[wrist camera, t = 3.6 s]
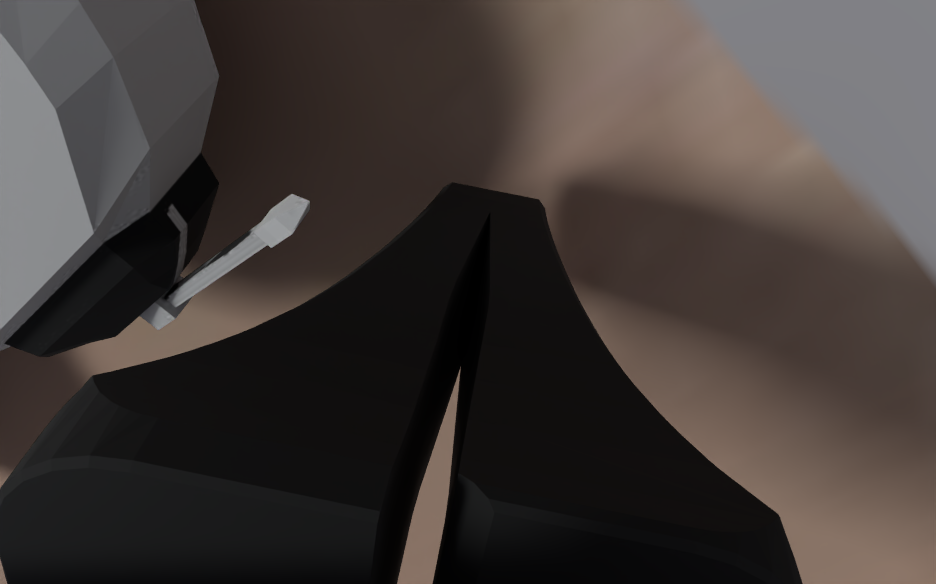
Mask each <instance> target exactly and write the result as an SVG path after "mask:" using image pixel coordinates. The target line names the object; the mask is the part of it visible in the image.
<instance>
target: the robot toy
mask: <svg viewBox="0 0 936 584" xmlns="http://www.w3.org/2000/svg"><path fill="white" fill-rule="evenodd" d="M218 79H219V74H218V71H217V68H216V65H215V62H214V58H213V55H212V52H211V49H210V46H209V43H208V40H207V37H206V34H205V31H204V28H203V25H202V22H201V19H200V16H199V13H198V10H197V7H196V4H195V1H194V0H0V351H1V350H4V349H6V348H9V347H11V346H12V347H15V348H17V349H20V350H23V351H26V352H28V353H31V354H34V355H37V356H39V357H50V356H53V355H55V354H58V353H61V352H64V351H67V350H70V349H73V348H76V347H79V346H82V345H85V344H88V343H91V342H95V341H99V340H103V339H108V338H112V337H116V336H117V335H118V334H119V333H120V332H121V331H123V330H124V329H125V328H126V327H127V326H128V325H129V324H131V323H132V322H133V321H134V320H135V319H136V318H137V317H139V316H141V317H142V318H143V319H145V320H146V321H147V322H149V323H150V324H151V325H152V326H154V327H155V328H156V329H157V330H159V329H161V328H162V327H164V326H165V325H167V324H168V323H170V322H171V321H173V320H174V319H176V317H177V316H178V315H179V314H180V312H181V311H182V310H183V308H184V307H185V306H186V305H187V303H188V302H189V301H190V299H191V298H192V297H193V296H194V295H195V294H196V293H198V292H199V291H201V290H202V289H204V288H205V287H207V286H208V285H210V284H211V283H213V282H214V281H216V280H217V279H218V278H220V277H221V276H223V275H224V274H226V273H227V272H229V271H230V270H232V269H233V268H235V267H236V266H237V265H239V264H240V263H242V262H243V261H245V260H246V259H248V258H249V257H251V256H252V255H254V254H255V253H257V252H258V251H259V250H261V249H262V248H264V247H265V246H267V245H268V246H270V247H271V248H272V247H274V246H275V245H277V244H278V243H280V242H281V241H283V240H284V239H286V238H287V237H289V236H290V235H291V234H293V233H294V231H295V230H296V228H297V227H298V226H299V224H300V223H301V221H302V220H303V219H304V217H305V216H306V215H307V213H308V212H309V210H310V201H308V200H306V199H303V198H301V197H299V196H296V195H294V194H291V195H289V196H288V197H287V198H285V199H284V200H283V201H281V202H280V203H279V204H277V205H276V206H274V207H273V208H272V209H271V210H270V211H269V212H268V214H267V215H266V216H265V217H264V219H263V220H262V221H261V222H260V223H259V224H257V225H256V226H255V227H253V228H252V229H251V230H249V231H248V232H247V233H245V234H244V235H242V236H241V237H240V238H238V239H237V240H236V241H234V242H233V243H231V244H230V245H229V246H227V247H226V248H225V249H223V250H222V251H221V252H219V253H218V254H216V255H215V256H214V257H212V258H211V259H210V260H208V261H207V262H206V263H204V264H203V265H201V266H200V267H199V268H197V269H196V270H195V271H193V272H192V273H190V274H189V275H188V276H186V277H185V278H184V279H183V278H182V277H181V276H180V274H181V273H182V271H183V270H184V269H185V267H186V266H187V264H188V263H189V262H190V260H191V259H192V258H193V256H194V255H195V254H196V252H197V251H198V249H199V246H200V243H201V240H202V237H203V234H204V231H205V228H206V225H207V221H208V218H209V215H210V211H211V208H212V205H213V202H214V198H215V195H216V192H217V188H218V185H219V182H218V180H217V179H216V177H215V175H214V174H213V172H212V170H211V169H210V167H209V165H208V164H207V162H206V160H205V159H204V157H203V155H202V154H201V149H202V145H203V141H204V137H205V133H206V129H207V124H208V120H209V116H210V112H211V108H212V104H213V100H214V95H215V91H216V87H217V83H218Z"/></svg>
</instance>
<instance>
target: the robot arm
mask: <svg viewBox="0 0 936 584" xmlns="http://www.w3.org/2000/svg"><path fill="white" fill-rule="evenodd" d="M460 367H461V371H460V381H459V391H458V402H457V412H456V423H455V434H454V444H453V455H452V465H451V476H450V487H449V496H448V503H447V510H446V517H445V524H444V529H443V534H442V539H441V544H440V549H439V554H438V559H437V564H436V570H435V575H434V580H433V584H802V580H801V577H800V574H799V571H798V568H797V565H796V561H795V558H794V555H793V553H792V550H791V547H790V544H789V542H788V539H787V536H786V533H785V531H784V528H783V525H782V522H781V519H780V517H779V515H778V514H777V513H776V512H774V511H773V510H772V509H771V508H769V507H768V506H767V505H765V504H764V503H763V502H761V501H760V500H759V499H758V498H756V497H755V496H754V495H752V494H751V493H750V492H748V491H747V490H746V489H744V488H743V487H742V486H741V485H739V484H738V483H737V482H735V481H734V480H733V479H731V478H730V477H729V476H728V475H726V474H725V473H724V472H722V471H721V470H720V469H719V468H717V467H716V466H715V465H714V464H713V463H711V462H710V461H709V460H708V459H707V458H706V457H705V456H704V455H703V454H702V453H700V452H699V451H698V450H697V449H696V448H695V447H694V446H693V445H692V444H691V443H689V442H688V441H687V440H686V439H685V438H684V437H683V436H682V435H681V434H680V433H679V432H678V431H677V430H676V429H675V428H674V427H673V426H672V425H671V424H670V423H669V422H668V421H667V420H666V419H665V418H664V417H663V416H662V415H661V414H660V413H659V412H658V411H657V410H656V409H655V408H654V406H653V405H652V404H651V403H650V402H649V401H648V400H647V399H646V397H645V396H644V395H643V394H642V393H641V392H640V391H639V390H638V388H637V387H636V386H635V385H634V384H633V383H632V381H631V380H630V379H629V378H628V376H627V375H626V374H625V373H624V371H623V370H622V369H621V367H620V366H619V364H618V363H617V362H616V360H615V359H614V357H613V356H612V355H611V353H610V352H609V350H608V349H607V347H606V346H605V344H604V342H603V341H602V339H601V338H600V336H599V334H598V333H597V331H596V330H595V328H594V326H593V324H592V323H591V321H590V319H589V317H588V315H587V314H586V312H585V310H584V308H583V306H582V305H581V303H580V301H579V299H578V297H577V295H576V293H575V291H574V289H573V286H572V284H571V282H570V280H569V278H568V275H567V273H566V271H565V269H564V266H563V264H562V262H561V259H560V257H559V254H558V252H557V249H556V246H555V243H554V241H553V238H552V235H551V232H550V228H549V225H548V221H547V217H546V212H545V208H544V206H543V205H542V203H541V202H540V200H539V199H533V198H528V197H523V196H518V195H513V194H508V193H503V192H498V191H493V190H488V189H483V188H478V187H473V186H468V185H463V184H458V183H451V184H449V185H447V186H446V187H444V188H443V189H442V190H441V192H440V193H439V194H438V195H437V196H436V198H435V199H434V200H433V201H432V202H431V203H430V204H429V205H428V207H427V208H426V209H425V210H424V211H423V212H422V213H421V214H420V215H419V216H418V217H417V218H416V219H415V220H414V221H413V222H412V223H411V224H410V225H409V226H407V227H406V228H405V229H404V230H403V231H402V232H401V233H400V234H399V235H397V236H396V237H395V238H394V239H393V240H392V241H391V242H390V243H389V244H387V245H386V246H385V247H384V248H383V249H382V250H380V251H379V252H378V253H376V254H375V255H374V256H373V257H371V258H370V259H369V260H367V261H366V262H365V263H363V264H362V265H361V266H360V267H358V268H357V269H356V270H354V271H353V272H352V273H350V274H349V275H348V276H346V277H345V278H343V279H342V280H340V281H339V282H337V283H336V284H334V285H333V286H331V287H330V288H328V289H327V290H325V291H324V292H322V293H320V294H318V295H317V296H315V297H313V298H312V299H310V300H308V301H307V302H305V303H303V304H302V305H300V306H298V307H296V308H294V309H292V310H290V311H288V312H286V313H283V314H281V315H279V316H277V317H275V318H273V319H271V320H268V321H266V322H264V323H262V324H260V325H258V326H256V327H254V328H251V329H249V330H247V331H244V332H242V333H239V334H236V335H234V336H231V337H228V338H226V339H223V340H220V341H218V342H215V343H212V344H209V345H206V346H203V347H200V348H197V349H194V350H191V351H188V352H185V353H181V354H178V355H175V356H171V357H168V358H164V359H160V360H156V361H152V362H148V363H144V364H140V365H136V366H132V367H128V368H124V369H120V370H116V371H112V372H107V373H102V374H97V375H93V376H92V377H91V378H90V379H89V380H88V381H87V382H86V384H85V385H84V386H83V387H82V388H81V389H80V390H79V391H78V392H77V393H76V394H75V395H74V396H73V397H72V398H71V399H70V400H69V401H68V402H67V403H66V404H65V405H64V406H63V407H62V409H61V410H60V411H59V412H58V413H57V415H56V416H55V417H54V418H53V419H52V420H51V422H50V423H49V424H48V425H47V426H46V428H45V429H44V430H43V432H42V433H41V434H40V436H39V437H38V438H37V440H36V441H35V442H34V444H33V445H32V446H31V448H30V449H29V450H28V452H27V453H26V454H25V456H24V457H23V459H22V460H21V461H20V463H19V464H18V465H17V467H16V468H15V469H14V471H13V472H12V473H11V475H10V476H9V477H8V479H7V480H6V481H5V483H4V484H3V485H2V487H1V489H0V559H1V563H2V566H3V570H4V573H5V577H6V581H7V584H397V581H398V576H399V572H400V567H401V563H402V559H403V554H404V550H405V545H406V541H407V536H408V532H409V527H410V523H411V519H412V514H413V511H414V507H415V504H416V500H417V497H418V493H419V490H420V486H421V483H422V481H423V478H424V475H425V472H426V469H427V466H428V463H429V460H430V457H431V454H432V451H433V448H434V445H435V442H436V439H437V436H438V433H439V430H440V427H441V424H442V421H443V418H444V415H445V412H446V409H447V406H448V403H449V400H450V397H451V394H452V391H453V388H454V385H455V382H456V379H457V376H458V373H459V370H460Z"/></svg>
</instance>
